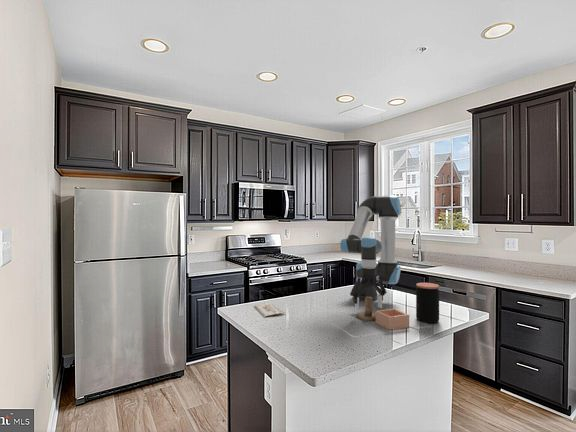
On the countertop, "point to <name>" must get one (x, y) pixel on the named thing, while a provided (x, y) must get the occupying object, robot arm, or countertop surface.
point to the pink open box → (392, 319)
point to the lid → (367, 311)
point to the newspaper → (268, 309)
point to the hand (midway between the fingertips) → (368, 308)
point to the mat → (360, 319)
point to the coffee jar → (427, 302)
